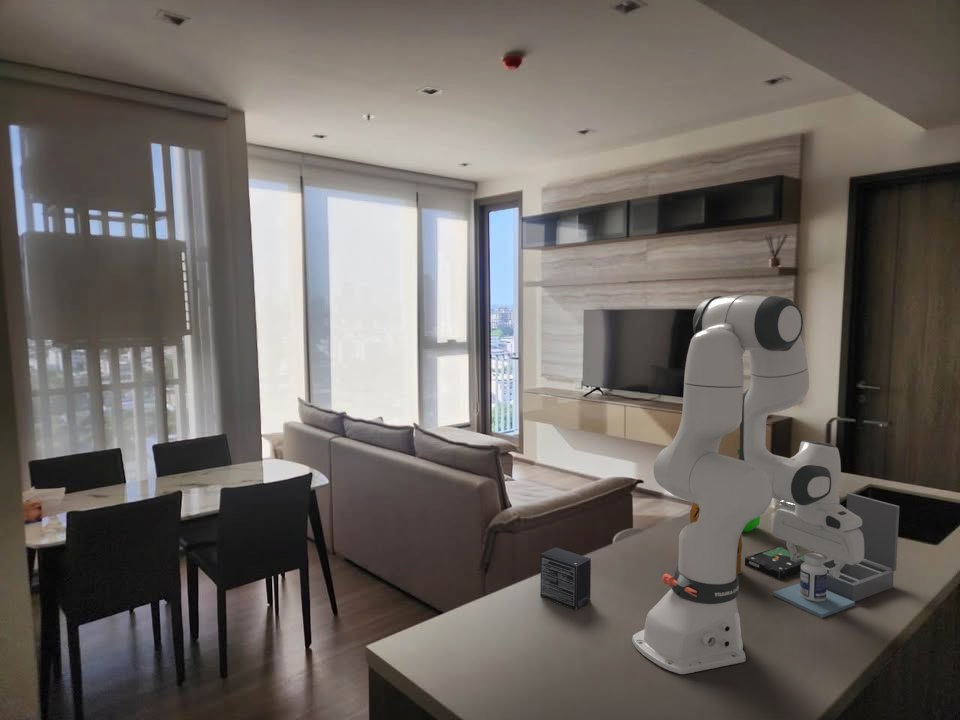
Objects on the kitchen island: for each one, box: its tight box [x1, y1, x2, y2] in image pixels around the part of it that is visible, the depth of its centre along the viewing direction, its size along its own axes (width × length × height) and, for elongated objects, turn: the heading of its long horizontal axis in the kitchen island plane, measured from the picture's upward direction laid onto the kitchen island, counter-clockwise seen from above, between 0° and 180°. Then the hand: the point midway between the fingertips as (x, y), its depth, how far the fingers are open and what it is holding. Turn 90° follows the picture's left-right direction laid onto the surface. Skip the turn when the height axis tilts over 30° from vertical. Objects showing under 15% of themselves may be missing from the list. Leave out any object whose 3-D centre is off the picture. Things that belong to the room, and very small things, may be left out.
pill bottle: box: [799, 552, 827, 602], centre depth 140 cm, size 5×5×10 cm
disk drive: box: [744, 546, 805, 581], centre depth 159 cm, size 10×3×15 cm
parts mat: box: [772, 582, 856, 619], centre depth 141 cm, size 12×12×1 cm
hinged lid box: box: [823, 492, 900, 603], centre depth 148 cm, size 17×13×20 cm
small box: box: [539, 547, 592, 611], centre depth 142 cm, size 11×6×10 cm, turn 47°
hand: (814, 568), depth 140 cm, fingers open, 8 cm apart
